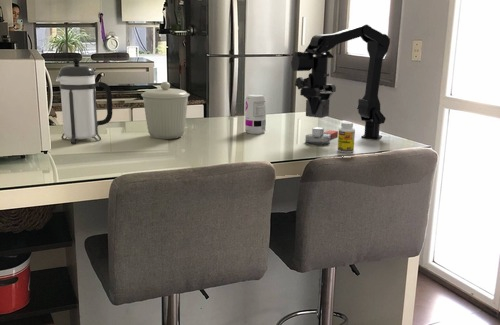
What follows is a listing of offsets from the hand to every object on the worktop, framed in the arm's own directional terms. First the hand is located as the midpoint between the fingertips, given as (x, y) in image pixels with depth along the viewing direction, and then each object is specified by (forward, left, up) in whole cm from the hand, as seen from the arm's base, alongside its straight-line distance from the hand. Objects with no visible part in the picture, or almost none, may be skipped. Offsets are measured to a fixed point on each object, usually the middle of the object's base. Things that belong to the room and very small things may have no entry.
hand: (317, 113), depth 202 cm
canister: (+24, -52, -11) cm, 58 cm away
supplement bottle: (+9, +15, -11) cm, 20 cm away
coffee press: (+45, -74, -11) cm, 87 cm away
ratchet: (-5, +1, -11) cm, 12 cm away
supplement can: (-3, -28, -11) cm, 31 cm away
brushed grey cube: (0, 0, -1) cm, 1 cm away
